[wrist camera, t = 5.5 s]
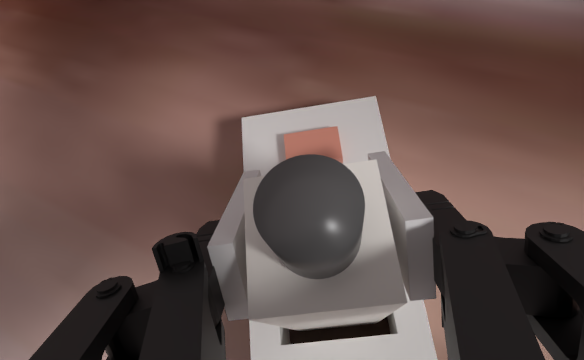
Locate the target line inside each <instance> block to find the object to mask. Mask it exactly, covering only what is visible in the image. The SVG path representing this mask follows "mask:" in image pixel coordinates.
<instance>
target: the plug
mask: <svg viewBox="0 0 584 360" xmlns="http://www.w3.org/2000/svg"><path fill="white" fill-rule="evenodd" d="M243 185H244V212H245V239H246V266H247V293H248V320H251V321H255V322H260V323H265V324H269V325H274V326H279V327H283V328H288V329H292V330H297V331H308V330H318V329H328V328H337V327H347V326H356V325H366V324H376V323H378V322H379V321H381V320H382V319H384V318H385V317H387V316H388V315H390V314H391V313H393V312H394V311H396V310H397V309H399V308H400V307H402V306H403V305H405V304H406V303H407V298H406V293H405V289H404V284H403V279H402V275H401V270H400V265H399V261H398V256H397V252H396V247H395V242H394V238H393V233H392V228H391V224H390V219H389V214H388V210H387V205H386V200H385V196H384V191H383V187H382V182H381V177H380V173H379V168H378V163H377V159H376V160H369V161H362V162H355V163H348V164H342V163H341V162H339V161H337V160H335V159H332V158H330V157H327V156H323V155H316V154H306V155H299V156H295V157H292V158H289V159H287V160H284V161H282V162H281V163H279V164H277V165H276V166H275V167H273V168H272V169H271V170H270V171H269V172H268V173H267V174H266V175H265V176H259V177H252V178H245V179H243Z"/></svg>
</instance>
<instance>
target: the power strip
mask: <svg viewBox="0 0 584 360" xmlns="http://www.w3.org/2000/svg"><path fill="white" fill-rule="evenodd" d="M242 142H243V168H244V172H246V171H253V170H259V169H260V172H261V176H265V175H266V174H267V173H268V172H269V171H270V170H271V169H272V168H273V167H275V166H276V165H277V164H279V163H281V162H282V161H284V160H287V159H289V158H292V157H295V156H299V155H306V154H316V155H323V156H327V157H330V158H332V159H335V160H337V161H339V162H341V163H342V164H348V163H355V162H362V161H368V153H374V152H381V151H385V152H386V154H387V155H388V156H389V158H390V155H389V151H388V146H387V142H386V138H385V133H384V129H383V125H382V121H381V116H380V112H379V108H378V103H377V99H376V96H372V97H366V98H360V99H354V100H348V101H342V102H335V103H329V104H323V105H317V106H311V107H305V108H298V109H292V110H286V111H280V112H274V113H267V114H261V115H255V116H249V117H243V118H242ZM404 289H405V286H404ZM405 293H406V298H407V303H406V304H405V305H403V306H402V307H400V308H399V309H397V310H396V311H394V312H393V313H391V314H390V315H388V316H387V319H388V324H389V329H390V334H388V335H378V336H368V337H358V338H348V339H338V340H329V341H319V342H309V343H299V344H290V333H289V329H288V328H283V327H279V326H274V325H269V324H265V323H260V322H255V321H251V320H249V325H250V352H251V360H437V356H436V352H435V347H434V343H433V339H432V335H431V330H430V326H429V322H428V317H427V313H426V309H425V305H424V300H416V301H410V299H409V296H408V294H407V291H406V289H405Z"/></svg>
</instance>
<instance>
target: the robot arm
mask: <svg viewBox="0 0 584 360" xmlns="http://www.w3.org/2000/svg"><path fill="white" fill-rule="evenodd" d="M376 159H377V163H378V168H379V173H380V177H381V182H382V187H383V191H384V196H385V200H386V205H387V210H388V214H389V219H390V224H391V228H392V233H393V238H394V242H395V247H396V252H397V256H398V261H399V265H400V270H401V275H402V279H403V284H404V286H405V289H406V291H407V294H408V296H409V299H410V301H416V300H425V299H435V298H436V284H437V286H438V288H439V290H440V292H441V310H442V327H444V330H445V338H446V346H447V354H448V360H545V358H544V356H543V353H542V351H541V349H540V346H539V344H538V342H537V339H536V337H537V338H538V339H539V341H540V342H541V343H542V344H543V346H544V347H545V348H546V350H547V351H548V352H549V353H550V355H551V356H552V357H553V359H554V360H584V231H582V230H580V229H578V228H576V227H573V226H569V225H566V224H564V223H558V222H557V223H556V222H545V223H537V224H532V225H530V226H529V227H527V228H526V232H525V239H517V238H501V237H494V236H493V234H492V232H491V230H490V229H489V228H488V227H487V226H485V225H483V224H481V223H478V222H474V221H467V220H466V219H465V218H464V217H463V216H462V215H461V214H460V213H459V212H458V211H457V210H456V208H454V206H453V205H452V204H451V203H450V202H449V201H448V200H447V199H446V197H445V196H444V195H442V194H440V193H438V192H436V191H433V190H429V191H422V192H414V190H413V189H412V188H411V186H410V185H409V184H408V182H407V181H406V179H405V178H404V177H403V175H402V174H401V173H400V171H399V170H398V169H397V167H396V166H395V165H394V163H393V162H392V160H391V159H390V158H389V156H388V155H387V154H386V152H385V151H381V152H374V153H368V161H369V160H376ZM259 176H261V172H260V169H259V170H253V171H246V172H243V174H242V176H241V179H240V181H239V183H238V185H237V187H236V189H235V191H234V193H233V195H232V197H231V199H230V201H229V203H228V205H227V207H226V209H225V211H224V213H223V215H222V217H221V219H220V220H216V221H209V222H207V223H206V224H205V225H203V226H202V227H201V228H200V229H199V230H198V232H197V234H194V233H192V232H181V233H176V234H173V235H170V236H167V237H165V238H163V239H161V240H160V241H159V242H157V243H156V244H155V245H154V246H153V248H152V251H153V254H154V257H155V260H156V262H157V265H158V268H159V271H160V275H159V279H158V280H157V281H154V282H151V283H148V284H145V285H142V286H138V287H135V286H134V284H133V281H132V278H130V277H127V276H119V277H114V278H109V279H107V280H104V281H102V282H101V283H100V284H98V285H96V286H95V287H93V288H92V289H91V290H90V291H89V292H88V293H87V294H86V295H85V296H84V297H83V298H82V299H81V300H80V302H79V303H78V304H77V305H76V306H75V307H74V309H73V310H72V311H71V312H70V313H69V314H68V315H67V317H66V318H65V319H64V320H63V321H62V322H61V323H60V325H59V326H58V327H57V328H56V329H55V330H54V332H53V333H52V334H51V335H50V336H49V337H48V338H47V340H46V341H45V342H44V343H43V344H42V345H41V346H40V348H39V349H38V350H37V351H36V352H35V353H34V354H33V356H32V357H31V358H30V359H29V360H102V355H103V353H104V350H106V353H107V355H108V357H107V359H106V360H226V353H225V332H224V327H223V323H222V320H221V316H222V313H223V309H224V308H225V311H226V315H227V318H228V321H232V320H241V319H248V293H247V266H246V239H245V212H244V185H243V179H245V178H252V177H259ZM535 335H536V337H535Z"/></svg>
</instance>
